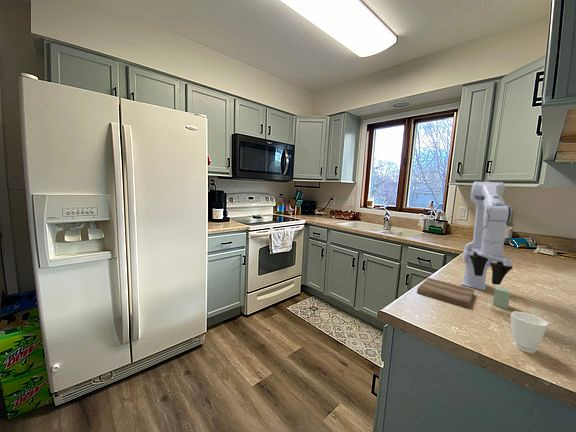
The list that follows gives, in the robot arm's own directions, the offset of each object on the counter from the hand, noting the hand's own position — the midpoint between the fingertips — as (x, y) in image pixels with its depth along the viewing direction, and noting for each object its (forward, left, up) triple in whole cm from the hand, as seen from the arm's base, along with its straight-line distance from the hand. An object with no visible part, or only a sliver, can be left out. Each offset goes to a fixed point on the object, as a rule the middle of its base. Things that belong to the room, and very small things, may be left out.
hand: (486, 279), depth 84 cm
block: (-6, +5, -10) cm, 12 cm away
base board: (-2, -11, -10) cm, 15 cm away
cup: (+20, +10, -10) cm, 24 cm away
